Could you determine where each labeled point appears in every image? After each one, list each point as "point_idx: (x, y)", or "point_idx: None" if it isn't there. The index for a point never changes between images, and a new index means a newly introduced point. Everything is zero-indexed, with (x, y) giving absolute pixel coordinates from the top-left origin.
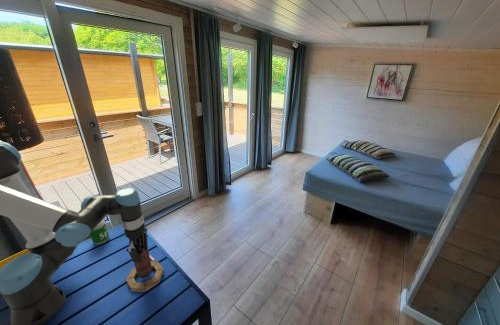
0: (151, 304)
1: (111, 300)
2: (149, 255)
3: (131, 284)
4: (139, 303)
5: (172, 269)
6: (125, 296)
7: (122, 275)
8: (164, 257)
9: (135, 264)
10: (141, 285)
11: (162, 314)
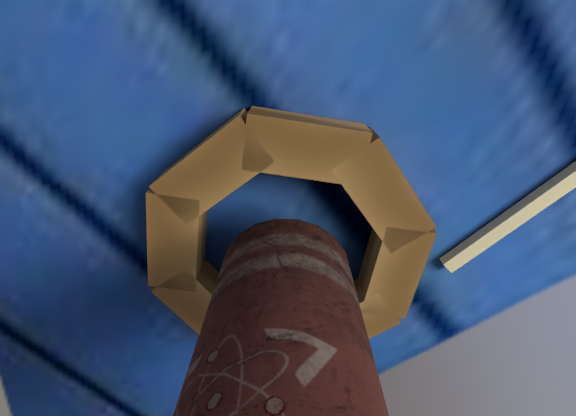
0: (76, 318)
1: (68, 26)
2: (518, 222)
3: (183, 181)
4: (73, 253)
5: None
6: (115, 139)
7: (338, 23)
8: (453, 323)
9: (189, 386)
10: (173, 261)
11: (30, 375)
